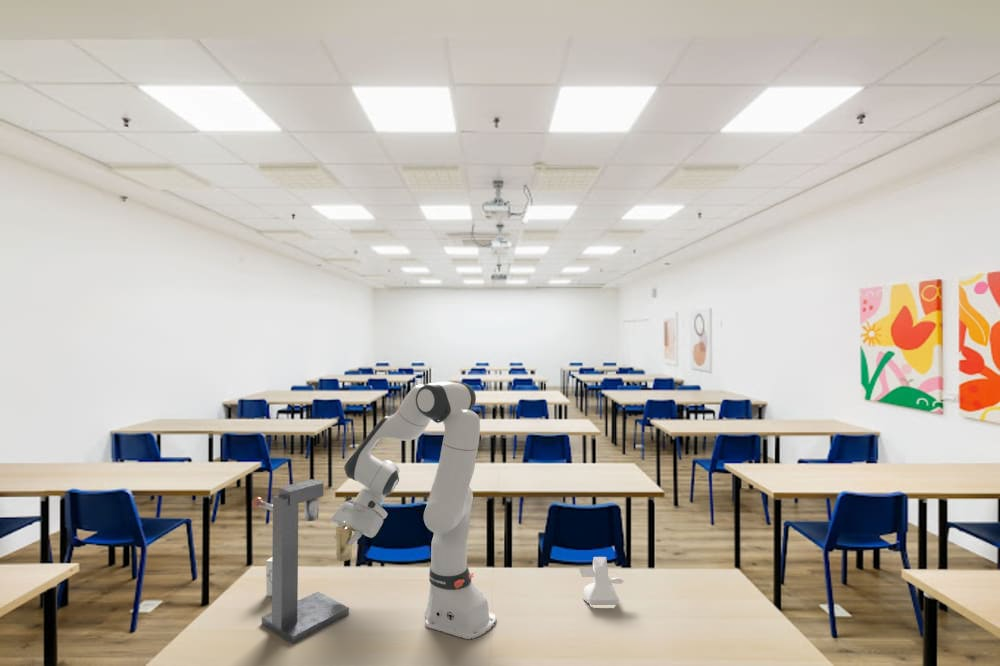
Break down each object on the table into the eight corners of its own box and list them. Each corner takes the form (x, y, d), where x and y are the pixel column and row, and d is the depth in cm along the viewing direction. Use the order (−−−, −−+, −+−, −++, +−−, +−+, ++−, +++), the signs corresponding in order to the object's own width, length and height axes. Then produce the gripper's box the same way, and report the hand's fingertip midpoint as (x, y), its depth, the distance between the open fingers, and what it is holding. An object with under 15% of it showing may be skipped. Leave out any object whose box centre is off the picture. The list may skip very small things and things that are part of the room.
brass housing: (355, 556, 173) (354, 521, 172) (342, 562, 169) (342, 525, 168) (345, 552, 176) (345, 517, 175) (333, 558, 172) (332, 522, 171)
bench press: (348, 614, 159) (350, 481, 159) (292, 643, 144) (293, 497, 144) (302, 589, 174) (303, 467, 174) (246, 613, 159) (247, 480, 159)
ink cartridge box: (281, 583, 178) (281, 540, 178) (294, 585, 177) (294, 542, 177) (265, 596, 170) (265, 551, 170) (278, 597, 169) (279, 552, 169)
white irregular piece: (626, 610, 164) (627, 567, 163) (582, 610, 163) (583, 567, 163) (620, 596, 172) (620, 555, 172) (578, 596, 172) (578, 555, 172)
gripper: (342, 494, 184) (318, 529, 176) (380, 506, 172) (356, 545, 164) (352, 503, 187) (329, 538, 180) (391, 515, 175) (367, 554, 167)
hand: (342, 542), depth 172 cm, fingers closed on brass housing, 5 cm apart
